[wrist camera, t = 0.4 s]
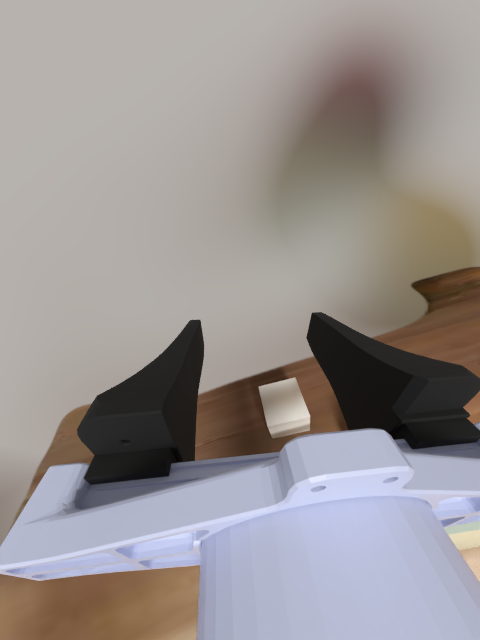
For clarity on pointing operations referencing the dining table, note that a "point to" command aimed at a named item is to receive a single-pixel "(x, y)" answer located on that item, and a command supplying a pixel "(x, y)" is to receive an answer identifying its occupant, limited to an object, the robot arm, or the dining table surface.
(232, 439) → the dining table surface
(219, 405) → the dining table surface
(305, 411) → the ivory cube
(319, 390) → the dining table surface
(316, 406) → the dining table surface
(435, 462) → the robot arm
